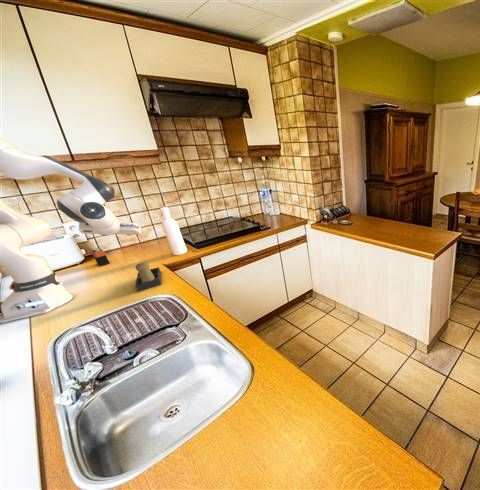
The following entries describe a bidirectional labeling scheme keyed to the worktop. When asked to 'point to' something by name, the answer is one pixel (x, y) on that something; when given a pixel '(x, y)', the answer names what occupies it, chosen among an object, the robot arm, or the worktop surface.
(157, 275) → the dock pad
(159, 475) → the worktop surface
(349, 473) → the worktop surface
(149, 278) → the cork
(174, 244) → the bottle
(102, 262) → the battery
